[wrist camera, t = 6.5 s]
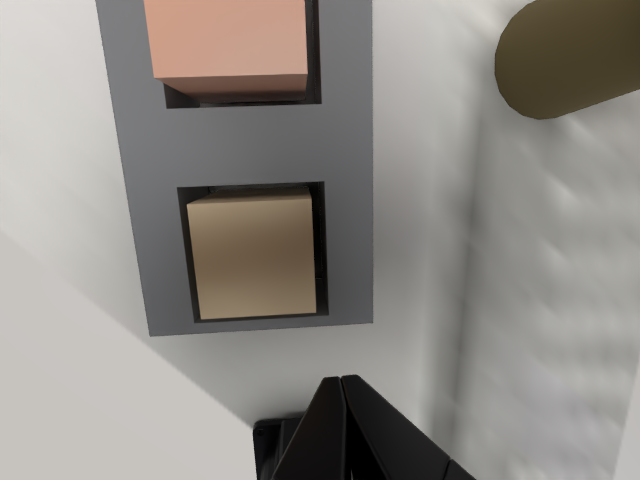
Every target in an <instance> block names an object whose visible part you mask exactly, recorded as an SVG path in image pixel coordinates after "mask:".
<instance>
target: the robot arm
mask: <svg viewBox="0 0 640 480" xmlns="http://www.w3.org/2000/svg"><path fill="white" fill-rule="evenodd" d="M259 429H263V430H264V431H259ZM253 442H254V453H255V463H256V473H257V480H476V479H475V478H474V477H473V476H472V475H470V474H469V473H468V472H467V471H466V470H465V469H463V468H462V467H461V466H460V465H459V464H458V463H457V462H456V461H454V460H453V459H451V458H450V456H449V455H447V454H446V453H445V452H444V451H443V450H442V449H441V448H440V447H438V446H437V445H436V444H435V443H434V442H433V441H432V440H431V439H429V438H428V437H427V436H426V435H425V434H424V433H423V432H422V431H420V430H419V429H418V428H417V427H416V426H415V425H414V424H413V423H411V422H410V421H409V420H408V419H407V418H406V417H405V416H404V415H402V414H401V413H400V412H399V411H398V410H397V409H396V408H395V407H393V406H392V405H391V404H390V403H389V402H388V401H387V400H386V399H384V398H383V397H382V396H381V395H380V394H379V393H378V392H377V391H375V390H374V389H373V388H372V387H371V386H370V385H369V384H368V383H366V382H365V381H364V380H363V379H362V378H361V377H360V376H358V375H346V376H342V377H341V379H340V377H338V376H336V377H325V378H323V380H322V381H321V383H320V385H319V387H318V389H317V391H316V393H315V395H314V397H313V399H312V401H311V403H310V404H309V406H308V408H307V410H306V412H305V414H304V416H303V418H298V419H284V420H270V421H259V422H257V423H255V425H254V427H253Z"/></svg>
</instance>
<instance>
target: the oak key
mask: <svg viewBox="0 0 640 480" xmlns="http://www.w3.org/2000/svg"><path fill="white" fill-rule="evenodd" d="M187 210H188V218H189V226H190V235H191V243H192V251H193V259H194V267H195V275H196V283H197V291H198V299H199V307H200V315H201V319H215V318H232V317H249V316H266V315H283V314H300V313H316V295H315V272H314V248H313V225H312V201H311V196H310V192H309V189H308V187H284V188H260V189H236V190H218V191H216V192H214V193H211V194H209V195H207V196H205V197H202V198H200V199H198V200H196V201H193V202H191V203H189V204H187Z"/></svg>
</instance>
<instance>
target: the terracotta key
mask: <svg viewBox="0 0 640 480" xmlns="http://www.w3.org/2000/svg"><path fill="white" fill-rule="evenodd" d="M144 7H145V14H146V22H147V29H148V36H149V44H150V51H151V59H152V66H153V74H154V78H155V79H157V80H159V81H161V82H163V83H165V84H167V85H168V86H170V87H172V88H174V89H176V90H178V91H180V92H182V93H184V94H185V95H187V96H189V97H191V98H193V99H195V100H197V101H199V102H200V103H226V102H259V101H291V100H305V93H306V84H307V75H308V71H307V47H306V23H305V0H144Z"/></svg>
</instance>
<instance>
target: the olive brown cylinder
mask: <svg viewBox="0 0 640 480" xmlns="http://www.w3.org/2000/svg"><path fill="white" fill-rule="evenodd" d="M495 77H496V80H497V84H498V87H499V91H500V93H501V94H502V96H503V97H504V99H505V100H506V102H507V103H508V105H509V106H510V107H512V108H513V109H515V110H516V111H517V112H519V113H520V114H522V115H523V116H527V117H531V118H535V119H549V118H557V117H559V116H562V115H565V114H568V113H571V112H574V111H577V110H580V109H583V108H586V107H589V106H592V105H595V104H598V103H600V102H603V101H606V100H609V99H612V98H615V97H618V96H621V95H624V94H627V93H630V92H633V91H636V90H639V89H640V0H536V1H534V2H532V3H529V4H527V5H526V6H525V7H524V8H523V9H521V10H520V11H519V12H518V13H517V14H516V15H515V16H514V17H512V19H511V20H510V22H509V23H508V25H507V27H506V28H505V30H504V31H503V33H502V35H501V37H500V40H499V44H498V47H497V50H496V53H495Z"/></svg>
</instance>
